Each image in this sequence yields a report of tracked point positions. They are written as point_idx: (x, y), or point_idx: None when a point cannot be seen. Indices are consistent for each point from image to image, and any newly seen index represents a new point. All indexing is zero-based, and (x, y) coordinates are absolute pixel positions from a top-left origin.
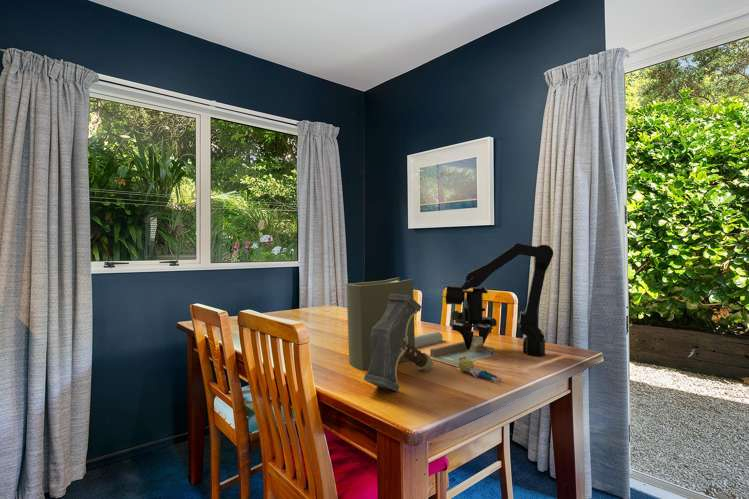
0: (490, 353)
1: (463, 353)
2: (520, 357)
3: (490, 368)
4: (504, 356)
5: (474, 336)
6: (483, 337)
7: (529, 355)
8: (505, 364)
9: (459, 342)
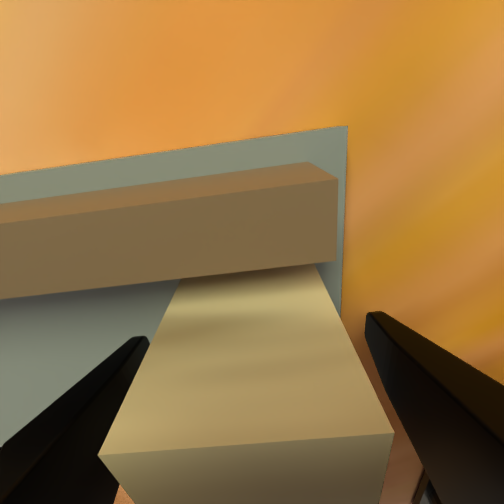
0: None
1: (83, 332)
2: (399, 465)
3: (120, 494)
4: None
5: (276, 497)
6: (445, 478)
7: (432, 499)
8: None
9: (64, 218)
